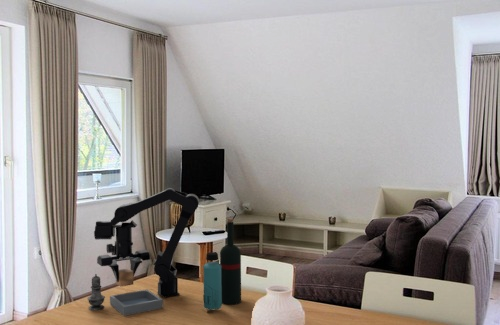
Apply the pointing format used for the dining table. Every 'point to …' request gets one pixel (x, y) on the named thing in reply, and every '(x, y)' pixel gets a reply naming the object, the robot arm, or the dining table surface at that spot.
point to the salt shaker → (96, 295)
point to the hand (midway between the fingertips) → (124, 280)
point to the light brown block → (125, 277)
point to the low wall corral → (136, 302)
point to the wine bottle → (230, 269)
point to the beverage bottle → (212, 282)
